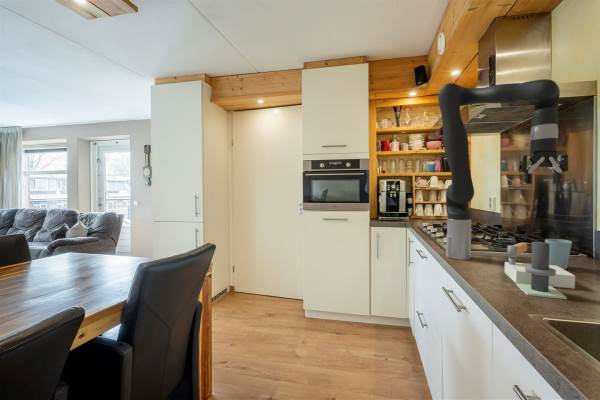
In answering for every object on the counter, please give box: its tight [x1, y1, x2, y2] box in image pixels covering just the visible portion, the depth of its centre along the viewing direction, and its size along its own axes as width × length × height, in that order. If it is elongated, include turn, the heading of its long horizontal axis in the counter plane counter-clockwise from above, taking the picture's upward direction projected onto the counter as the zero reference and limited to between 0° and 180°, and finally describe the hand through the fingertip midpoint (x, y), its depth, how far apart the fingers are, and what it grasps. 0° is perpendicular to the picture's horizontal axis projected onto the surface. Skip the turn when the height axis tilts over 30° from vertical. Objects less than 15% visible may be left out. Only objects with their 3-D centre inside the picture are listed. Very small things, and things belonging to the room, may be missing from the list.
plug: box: [525, 241, 556, 292], centre depth 86 cm, size 7×7×14 cm
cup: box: [544, 238, 573, 270], centre depth 110 cm, size 8×8×10 cm
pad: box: [515, 283, 568, 300], centre depth 86 cm, size 9×9×1 cm
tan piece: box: [506, 241, 528, 258], centre depth 105 cm, size 14×3×4 cm, turn 127°
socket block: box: [504, 257, 576, 290], centre depth 96 cm, size 15×12×6 cm
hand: (542, 184), depth 103 cm, fingers open, 8 cm apart
